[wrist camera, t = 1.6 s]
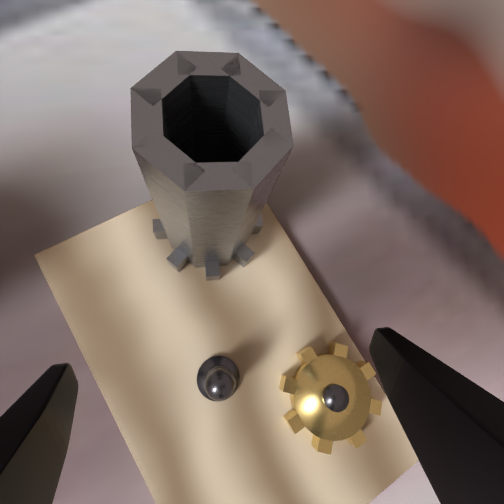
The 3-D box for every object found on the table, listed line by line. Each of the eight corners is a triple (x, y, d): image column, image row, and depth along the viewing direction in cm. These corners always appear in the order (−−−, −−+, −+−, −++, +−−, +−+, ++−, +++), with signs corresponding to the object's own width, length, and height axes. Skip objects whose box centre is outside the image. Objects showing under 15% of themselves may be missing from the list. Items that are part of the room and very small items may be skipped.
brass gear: (313, 469, 21) (323, 482, 19) (260, 376, 22) (265, 380, 20) (390, 409, 22) (406, 415, 21) (338, 324, 23) (349, 324, 21)
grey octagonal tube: (263, 276, 23) (332, 213, 11) (158, 284, 22) (98, 225, 10) (253, 182, 25) (302, 33, 12) (154, 185, 24) (99, 24, 11)
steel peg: (210, 409, 21) (211, 425, 17) (189, 370, 21) (186, 378, 18) (246, 384, 21) (255, 395, 18) (226, 347, 22) (230, 350, 18)
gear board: (219, 623, 19) (219, 632, 18) (38, 256, 22) (34, 254, 21) (417, 452, 22) (423, 455, 22) (238, 162, 26) (239, 159, 25)
